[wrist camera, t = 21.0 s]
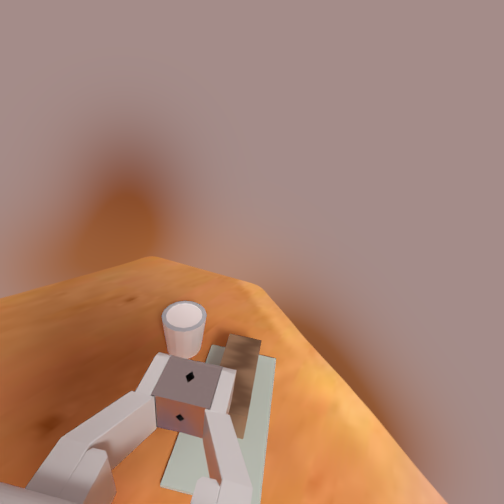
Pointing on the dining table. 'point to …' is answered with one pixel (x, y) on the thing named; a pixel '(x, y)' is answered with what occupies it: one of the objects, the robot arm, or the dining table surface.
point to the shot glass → (184, 328)
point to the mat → (252, 445)
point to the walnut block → (241, 377)
